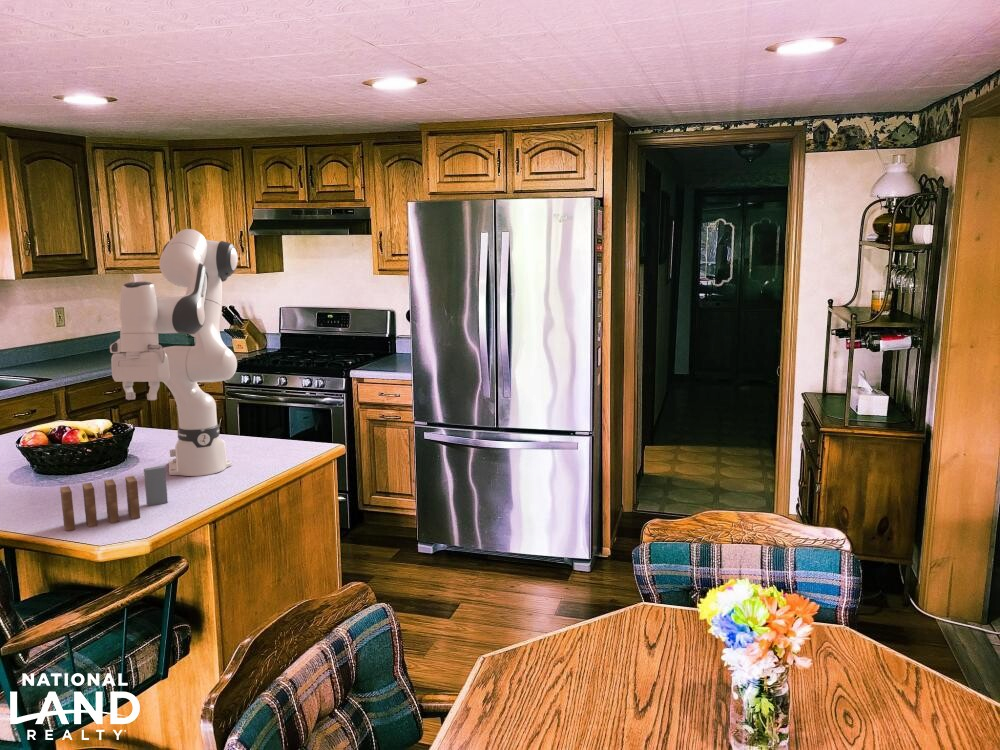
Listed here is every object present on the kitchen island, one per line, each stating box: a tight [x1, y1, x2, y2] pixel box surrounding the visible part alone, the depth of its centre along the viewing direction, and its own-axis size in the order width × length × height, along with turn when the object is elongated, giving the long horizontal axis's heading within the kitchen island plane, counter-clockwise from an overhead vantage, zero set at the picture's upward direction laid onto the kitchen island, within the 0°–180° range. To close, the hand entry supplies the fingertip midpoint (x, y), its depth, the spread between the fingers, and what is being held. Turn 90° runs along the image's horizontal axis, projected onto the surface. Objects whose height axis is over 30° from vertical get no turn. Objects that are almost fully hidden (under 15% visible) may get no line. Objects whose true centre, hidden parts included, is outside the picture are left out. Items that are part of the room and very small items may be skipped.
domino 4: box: [124, 475, 141, 520], centre depth 207 cm, size 2×5×10 cm, turn 34°
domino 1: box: [60, 485, 76, 532], centre depth 199 cm, size 2×5×10 cm, turn 34°
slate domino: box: [143, 465, 169, 507], centre depth 217 cm, size 2×5×10 cm, turn 124°
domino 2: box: [81, 482, 98, 528], centre depth 202 cm, size 2×5×10 cm, turn 34°
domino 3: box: [103, 478, 120, 524], centre depth 205 cm, size 2×5×10 cm, turn 34°
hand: (141, 399), depth 202 cm, fingers open, 8 cm apart
